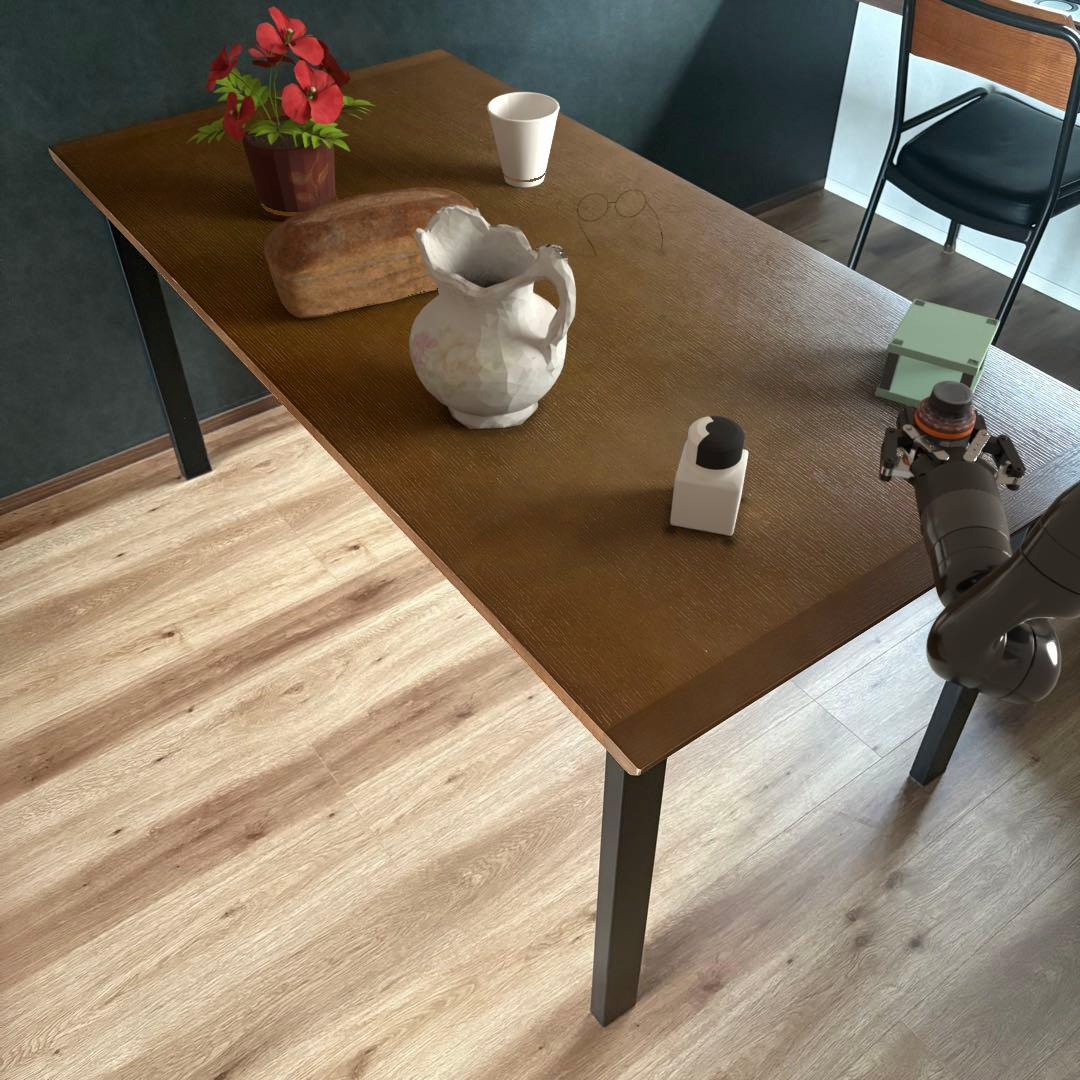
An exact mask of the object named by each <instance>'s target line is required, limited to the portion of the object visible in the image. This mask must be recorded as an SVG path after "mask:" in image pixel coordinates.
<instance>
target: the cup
mask: <svg viewBox="0 0 1080 1080" xmlns="http://www.w3.org/2000/svg"><path fill="white" fill-rule="evenodd" d="M560 108H561V107H560V104H559V102H558V101H557V99H555V98H553V97H551V96H549V95H547V94H544V93H539V92H531V91H515V92H507V93H504V94H501V95H498V96H496V97H494V98H492V99H491V100H490V101H489V102H488V103H487V105H486V110H487V113H488V115H489V116H488V117H489V120H490V124H491V128H492V133H493V137H494V141H495V146H496V150H497V154H498V158H499V162H500V166H501V170H502V174H503V173H504V174H505V175H506V176H508V177H510V178H513V179H520V180H530V179H534V178H538V177H540V176H542V175H543V174H544V173H545V175H544V176H543V177H542V178H541V179H539V180H536V181H533V182H515V181H511V180H509V179H507V178H506V177H505V176H504V175H503V179H504V181H505V183H506V184H508V185H509V186H512V187H515V188H516V187H517V188H532V187H536V186H539V185H540V184H542V183H543V182H544V180H545V177H546V172H545V171H547V166H548V163H549V157H550V152H551V147H552V143H553V138H554V133H555V129H556V123H557V119H558V114H559V112H560Z"/></svg>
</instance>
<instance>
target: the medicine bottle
mask: <svg viewBox="0 0 1080 1080" xmlns="http://www.w3.org/2000/svg"><path fill="white" fill-rule="evenodd" d="M745 438H746V435H745V431H744V429H743V428H742V426H741V425H740V424H739V423H738V422H736V421H735V420H733V419H731V418H728V417H725V416H721V415H707V416H704V417H700V418H698V419H697V420H695V421H694V422H693V423H691V424H690V426H689V428H688V432H687V440H686V441H685V443H684V446H683V449H682V453H681V456H680V460H679V463H678V465H677V466H678V467H677V469H676V473H675V477H674V483H673V491H672V492H673V493H672V501H671V502H672V503H671V511H670V520H669V522H670V525H671V526H675V527H679V528H680V527H681V528H684V529H690V530H696V531H701V532H707V533H712V534H718V535H723V536H730V537H731V536H733V534H734V532H735V528H736V522H737V519H738V513H739V509H740V505H741V499H742V494H743V489H744V481H745V477H746V471H747V465H748V458H749V451H748V450H747V449H744V443H745Z"/></svg>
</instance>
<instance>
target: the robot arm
mask: <svg viewBox="0 0 1080 1080" xmlns="http://www.w3.org/2000/svg"><path fill="white" fill-rule="evenodd" d="M973 410H974V412H975V415H976V420H975V424H974V427H973V431H972V433H971V437H970V439H969V442H968V447H967V448H965V447H946V446H941V445H936V444H935V443H934V442H933V441H932V440H931V439H930V438H929V437H928V436H927V435H923V436H922V435H921V434H920V433H919V432H918V431H917V429H916V428H915V427H916V422H915V417H914V416H915V413H914V412H915V411H914V407H912V406H911V405H905V404H904V406H903V409H902V408H901V409H899V411H898V413H897V417H896V420H895V425H896V426H895V427H893V426H888V427H886V428H885V431H884V437H883V441H882V443H881V446H880V456H879V470H878V471H879V473H878V478H879V480H880V481H881V482H884V483H888V482H891V481H892V479H893V477H895V478H902V479H904V478H907V479H908V481H909V483H910V484H909V483H908V484H909V485H911V486H912V487H913V489H914V497H915V502H916V507H917V512H918V519H919V523H920V525H919V528H920V529H919V530H920V534H921V536H922V539H923V544H924V548H925V550H926V553H927V555H928V557H929V561H930V566H931V572H932V576H933V580H934V586H935V591H936V595H937V597H938V599H939V601H940V603H941V604H942V606H943V607H944V608H943V610H941V611H940V613H939V614H938V615H937V617H936V619H935V620H934V622H933V623H932V625H931V626H930V629H929V631H928V635H927V639H926V645H925V646H926V648H925V653H926V660H927V662H928V665H929V667H930V669H931V670H932V671H933V672H934V674H935V675H936V676H938V677H939V678H940V679H943V680H944V681H946V682H948V683H951V684H954V685H956V686H960V687H962V688H966V689H968V690H970V691H974V692H976V693H979V694H981V695H985V696H987V697H990V698H993V699H995V700H999V701H1001V702H1005V703H1008V704H1010V705H1018V706H1027V705H1028V706H1029V705H1033V704H1035V703H1038V702H1040V701H1042V700H1044V699H1045V698H1046V697H1047V696H1048V695H1049V694H1050V693H1052V691H1053V690H1054V688H1055V687H1056V684H1057V683H1058V680H1059V677H1060V675H1061V669H1062V650H1061V646H1060V641H1059V638H1058V636H1057V633H1056V631H1055V629H1054V627H1053V625H1052V623H1051V622H1050V620H1049V619H1053V620H1074V619H1077V618H1080V479H1078V480H1077V481H1075V482H1074V483H1073V484H1072V485H1070V486H1069V487H1067V488H1066V489H1065V490H1064V491H1062V492H1061V493H1060V494H1059V495H1058V496H1057V497H1056V498H1055V499H1054V500H1053V501H1052V503H1050V505H1048V507H1047V508H1046V510H1045V511H1044V512H1043V513H1042V515H1041V516H1040V517H1039V519H1038V520H1037V521H1036V523H1035V524H1034V526H1033V527H1032V528H1031V529H1030V530H1029V532H1028V533H1027V535H1026V536H1025V537H1024V538H1023V540H1022V541H1021V543H1020V544H1019V546H1018V547H1017V548H1016V550H1015V551H1014V552H1013V548H1012V544H1011V533H1010V527H1009V522H1008V518H1007V516H1006V511H1005V508H1004V504H1003V501H1002V500H1003V499H1002V497H1001V493H1000V490H999V485H1005V487H1006V488H1007V489H1008V490H1009V491H1012V492H1017V491H1018V490H1020V486H1021V484H1022V482H1023V479H1024V477H1025V474H1026V472H1027V467H1026V465H1025V464H1024V461H1023V460H1022V457H1021V456H1020V454H1019V452H1018V450H1017V448H1016V447H1015V445H1014V443H1013V441H1012V439H1011V437H1010V436H1009V435H1007V434H998V435H997V436H996V435H995V436H994V435H993V434H992V433H991V431H990V430H988V426H987V423H986V420H985V417H984V416H983V415H982V414H979V413H978V412H979V411H978V409H973ZM911 443H912V444H911ZM898 449H899V450H900V451H901V452H902V453H904V454H905V455H906V456H907V458H908V463H909V464H910V466H908V465H906V464H905V463H904V462H903V459H902V454H901V453H898ZM985 454H988V455H991V459H992V460H993V463H994V465H995V467H996V468H995V467H994V466H992V465H991V464H989V463H988V462H987V461H985V460H984V459H983V457H984V455H985Z"/></svg>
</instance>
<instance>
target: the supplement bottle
mask: <svg viewBox="0 0 1080 1080" xmlns="http://www.w3.org/2000/svg"><path fill="white" fill-rule="evenodd" d="M973 399H974V393H973V392H972V390H971V389H970V388H969V387H968V386H966V385H964V384H962V383H960V382H956V381H942V382H938V383H937V384H935V385H934V387H933V389H932V392H931V395H930V396H929V397H927V398H925V399H923V400H922V401H921V402H920V403H919V405H918V407H917V408H916V409H915V411H914V412H915V413H914V417H915V422H916V427H915V428H916V429H917V431H918V432H919V433H920V434H921V435H922V436H923V435H927V436H928V437H929V438H930V439H931V440H932V441H933V442H934V443H935V444H936V445H941V446H946V447H965V448H966V449H968V446H969V439H970V437H971V433H972V431H973V427H974V424H975V420H976V415H975V412H974V410H975V409H974V408H973V406H972V403H973ZM911 444H912V443H911ZM902 453H903V452H902ZM901 458H902V459H903V462H904V463H905V464H906V465H908V466H910V464H909V463H908V458H907V456H906V455H905V454H904V453H903V454H902V455H901ZM903 479H904V481H906V483H908V485H911V484H910V483H909V481H908V479H907V478H903Z"/></svg>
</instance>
